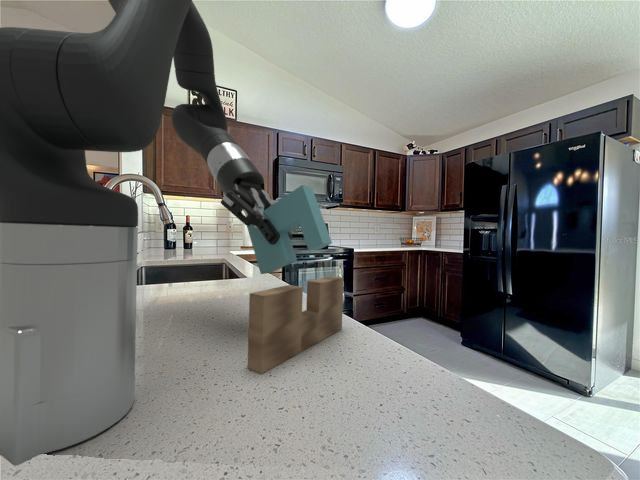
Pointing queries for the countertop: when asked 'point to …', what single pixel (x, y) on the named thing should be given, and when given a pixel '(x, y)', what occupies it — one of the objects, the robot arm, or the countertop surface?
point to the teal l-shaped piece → (286, 217)
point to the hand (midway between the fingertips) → (282, 240)
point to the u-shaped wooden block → (292, 320)
